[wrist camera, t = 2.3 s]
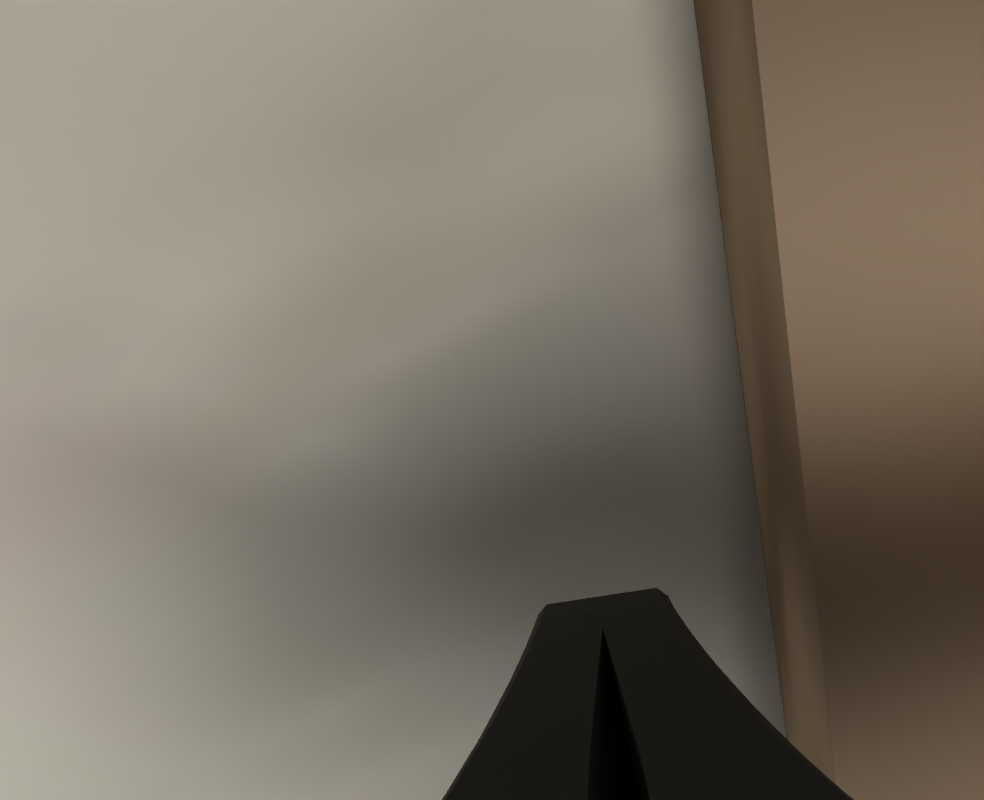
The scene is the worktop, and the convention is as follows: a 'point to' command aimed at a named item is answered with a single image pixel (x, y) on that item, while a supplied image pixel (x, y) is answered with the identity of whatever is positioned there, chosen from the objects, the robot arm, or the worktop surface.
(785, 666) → the trap deck
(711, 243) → the worktop surface
